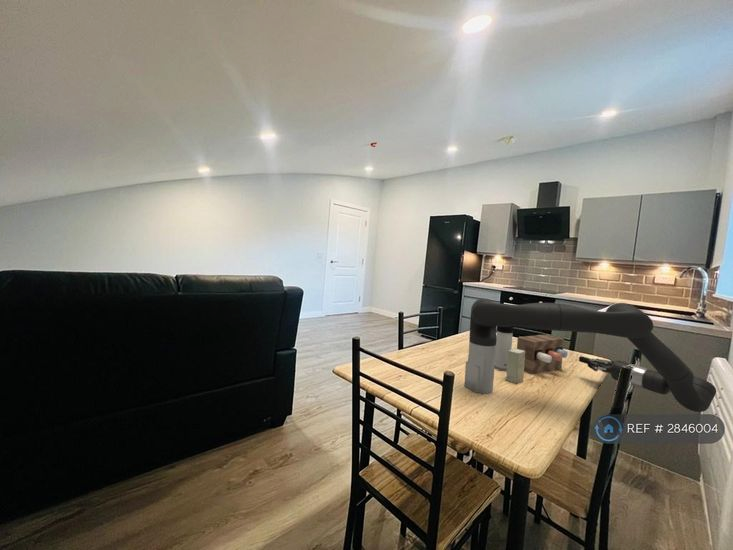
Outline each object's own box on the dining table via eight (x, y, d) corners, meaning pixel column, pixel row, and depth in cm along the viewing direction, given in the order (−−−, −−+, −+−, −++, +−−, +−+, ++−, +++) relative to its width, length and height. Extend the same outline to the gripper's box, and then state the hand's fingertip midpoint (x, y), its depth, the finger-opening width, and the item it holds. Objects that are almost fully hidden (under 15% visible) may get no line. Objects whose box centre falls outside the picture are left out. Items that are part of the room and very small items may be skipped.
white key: (546, 363, 119) (547, 355, 119) (536, 359, 123) (536, 352, 123) (551, 362, 121) (552, 355, 120) (541, 359, 125) (541, 351, 124)
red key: (557, 361, 122) (558, 354, 122) (547, 358, 126) (547, 350, 126) (562, 360, 123) (562, 353, 123) (551, 357, 127) (552, 350, 127)
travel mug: (509, 372, 124) (512, 326, 123) (492, 368, 128) (496, 324, 127) (512, 368, 129) (515, 324, 128) (496, 364, 133) (499, 322, 132)
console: (531, 374, 124) (534, 342, 123) (515, 367, 131) (517, 337, 130) (561, 369, 132) (563, 338, 131) (544, 362, 139) (546, 334, 138)
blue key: (562, 358, 127) (563, 351, 127) (552, 355, 131) (553, 348, 131) (567, 357, 128) (567, 350, 128) (557, 354, 132) (557, 347, 132)
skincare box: (516, 384, 113) (519, 353, 112) (505, 380, 116) (507, 350, 115) (523, 380, 117) (526, 350, 116) (512, 376, 120) (514, 347, 119)
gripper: (641, 362, 109) (590, 348, 125) (622, 366, 103) (571, 351, 119) (639, 381, 109) (588, 365, 125) (620, 386, 104) (569, 369, 119)
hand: (580, 358), depth 122 cm, fingers closed
